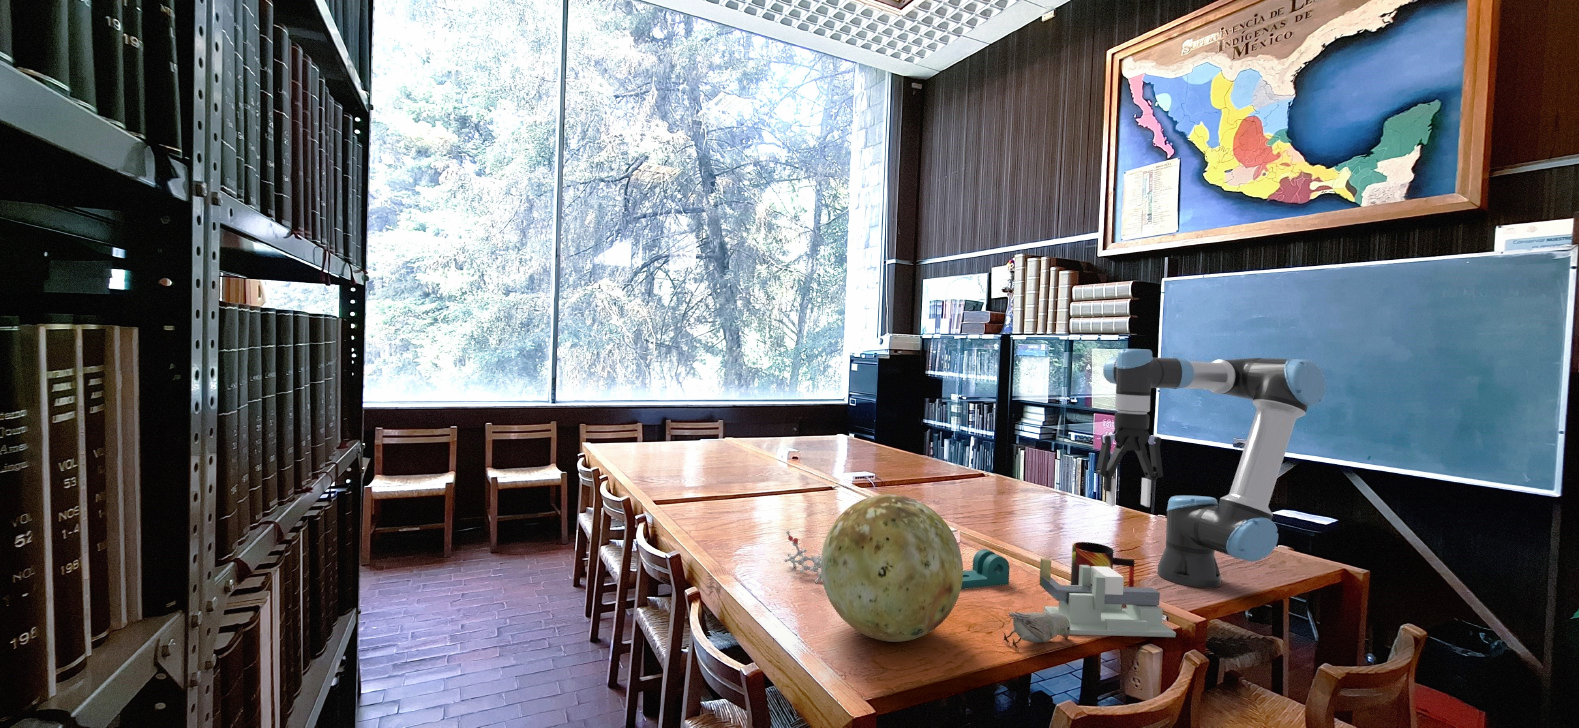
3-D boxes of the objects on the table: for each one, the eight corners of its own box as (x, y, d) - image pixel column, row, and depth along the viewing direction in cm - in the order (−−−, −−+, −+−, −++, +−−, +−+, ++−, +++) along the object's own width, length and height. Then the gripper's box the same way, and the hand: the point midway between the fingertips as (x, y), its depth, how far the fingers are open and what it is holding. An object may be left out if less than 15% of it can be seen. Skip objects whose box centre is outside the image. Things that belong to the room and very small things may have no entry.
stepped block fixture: (1143, 613, 158) (1145, 563, 158) (1175, 636, 145) (1178, 583, 145) (1043, 610, 158) (1046, 560, 157) (1067, 634, 145) (1070, 580, 144)
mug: (1134, 599, 167) (1136, 552, 167) (1085, 601, 164) (1087, 554, 164) (1109, 585, 176) (1111, 541, 176) (1062, 587, 174) (1064, 542, 174)
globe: (862, 680, 122) (868, 519, 121) (796, 617, 149) (800, 485, 148) (990, 654, 134) (996, 508, 133) (907, 600, 161) (912, 478, 160)
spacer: (1107, 583, 155) (1108, 566, 155) (1123, 594, 148) (1123, 577, 148) (1090, 583, 155) (1091, 566, 155) (1105, 594, 148) (1106, 576, 148)
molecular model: (845, 585, 171) (845, 548, 170) (810, 593, 167) (810, 555, 166) (811, 559, 188) (811, 525, 187) (779, 565, 184) (778, 531, 183)
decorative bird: (1077, 644, 140) (1078, 609, 140) (1015, 654, 135) (1016, 618, 135) (1058, 633, 145) (1060, 600, 145) (998, 642, 140) (1000, 607, 140)
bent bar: (1135, 589, 160) (1136, 560, 160) (1159, 605, 150) (1160, 575, 150) (1039, 586, 160) (1040, 558, 159) (1056, 602, 150) (1058, 572, 149)
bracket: (993, 576, 181) (994, 548, 181) (1008, 585, 175) (1010, 555, 175) (935, 581, 176) (936, 552, 175) (949, 590, 169) (950, 560, 169)
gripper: (1165, 411, 164) (1160, 502, 165) (1082, 409, 164) (1078, 500, 164) (1183, 415, 157) (1179, 510, 157) (1097, 412, 156) (1092, 507, 157)
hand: (1127, 504), depth 161 cm, fingers open, 8 cm apart
